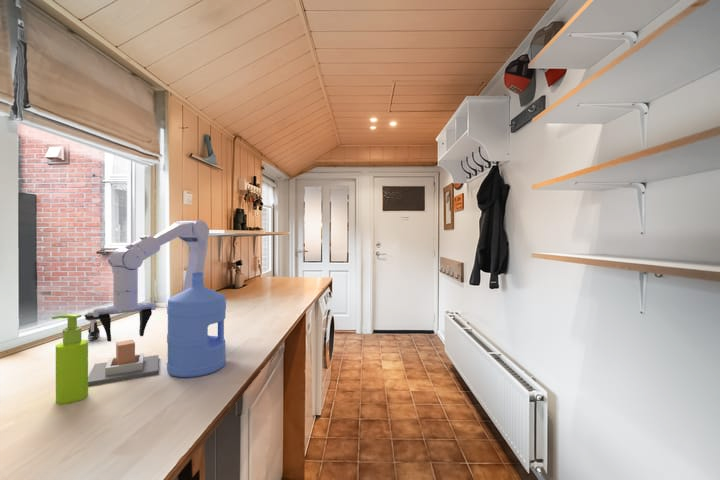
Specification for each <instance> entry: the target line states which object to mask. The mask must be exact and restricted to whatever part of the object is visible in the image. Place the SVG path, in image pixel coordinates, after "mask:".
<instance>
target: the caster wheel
mask: <svg viewBox="0 0 720 480" xmlns="http://www.w3.org/2000/svg"><path fill="white" fill-rule="evenodd" d="M83 317H85V320H86V321H88V322H89V323H90V325H89V328H88V331H87V333H88V334H87V335H88V336H87V338H88V341H95V340H96V339H97V338H98V339H99V337H100V332H101V331H100V328H99V327H98V322H97V321H98V320H99V317H94V316H93V310H90V311H87V313H86V314H84V315H83ZM99 321H100V320H99Z"/></svg>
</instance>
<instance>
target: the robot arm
mask: <svg viewBox="0 0 720 480" xmlns="http://www.w3.org/2000/svg"><path fill="white" fill-rule="evenodd" d="M209 234H210V227H209V226H208V224H207V223H206V221H204V220H202V219H198V220H184V219H180V220H178V221H174V222H172V223H171V225H170V226H168V227H167V228H165V229H164V230H162V231H160V232H158V233H157V234H155V235H154V236H151V235H142V236H140V237H139V239H138V240H137V241H134V242H133V243H132V242H131V243H128V244H126V245H125V248H117V249H115V250H113V251H112V252H111V253H110V256H109V258H107V262H108V265H109V266H110V267H111V272H112V274H113V281H112V282H113V284H112V285H113V293H112V294H113V300H112V301H113V305H110V306H105V307H99V308H93V310H92V311H93V316H94V317H99V321H100V323H101V324H102V326H103V328H104V331H105V334H106V341H107V342H112V334H111V333H112V332H111V327H112V326H111V324H112V323H111V321H112V320H111V315H118V314H119V315H120V314H125V313H136V312H139V330H138V332H139V336H140V337H144V334H145V330H146V327H147V325H148V322H149V320H150V318H151V316H152V314H153V311H154V310H156V308H157V307H156V306H157V305H156V303H155V302H141V303H140V302H139V301H138V300H139V294H138V293H139V291H138V289H139V288H138V287H139V286H138V284H139V283H138V281H139V277H138V276H139V275H138V274H139V273H138V270H139V269H138V268H140V267H142V265H143V263H144V261H145V260H147V259H148V258H150V257H152V256H153V255H155V254H156V253H158V252H159V251H160V250H161V246H163V245H165V244H167V243H169V242H171V241H172V240H175V239H177V238H179V240H182V242H184V243H185V244H186V245H187V246H188V247H189V255H188V260H187V266H186V271H185V277H184V282H183V289H182V292H183V291H185V290H187V289H189V288H190V287H191V286H192V273H196V272H202V273H204V269H205V265H206V264H205V263H206V258H207V252H208V247H209V245H208V244H209V242H208V239H209V236H210V235H209Z"/></svg>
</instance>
